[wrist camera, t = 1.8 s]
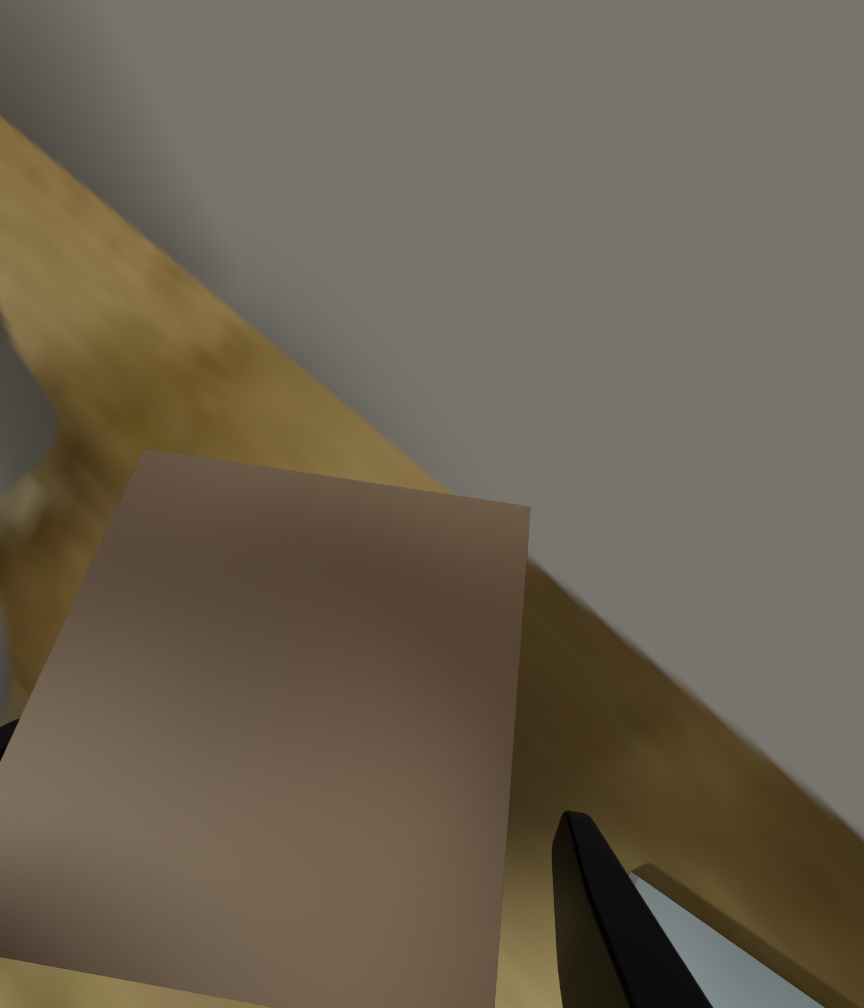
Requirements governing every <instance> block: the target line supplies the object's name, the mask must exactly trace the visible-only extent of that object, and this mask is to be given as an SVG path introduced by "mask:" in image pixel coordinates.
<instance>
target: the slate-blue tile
mask: <svg viewBox="0 0 864 1008" xmlns="http://www.w3.org/2000/svg"><path fill="white" fill-rule="evenodd" d="M629 877H630V879H631V880H632V882H633V884H634V885H635V887H636V888H637V890H638V891H639V893H640V894H641V896H642V898H643V899H644V901H645V902H646V904H647V905H648V907H649V908H650V910H651V912H652V913H653V915H654V916H655V918H656V919H657V921H658V922H659V924H660V926H661V927H662V929H663V930H664V932H665V933H666V935H667V936H668V938H669V940H670V941H671V943H672V944H673V946H674V947H675V949H676V950H677V952H678V954H679V955H680V957H681V958H682V960H683V961H684V963H685V964H686V966H687V968H688V969H689V971H690V972H691V974H692V975H693V977H694V978H695V980H696V982H697V983H698V985H699V986H700V988H701V989H702V991H703V992H704V994H705V996H706V997H707V999H708V1000H709V1002H710V1003H711V1005H712V1006H713V1008H824V1007H823V1006H821V1005H820V1004H819V1003H817V1002H816V1001H814V1000H813V999H811V998H810V997H809V996H807V995H806V994H804V993H803V992H802V991H800V990H799V989H797V988H796V987H794V986H793V985H792V984H790V983H789V982H787V981H786V980H784V979H783V978H782V977H780V976H779V975H777V974H776V973H775V972H773V971H772V970H770V969H769V968H767V967H766V966H765V965H763V964H762V963H760V962H759V961H757V960H756V959H755V958H753V957H752V956H750V955H749V954H748V953H746V952H745V951H743V950H742V949H740V948H739V947H738V946H736V945H735V944H733V943H732V942H730V941H729V940H728V939H726V938H725V937H723V936H722V935H721V934H719V933H718V932H716V931H715V930H713V929H712V928H711V927H709V926H708V925H706V924H705V923H703V922H702V921H701V920H699V919H698V918H696V917H695V916H694V915H692V914H691V913H689V912H688V911H686V910H685V909H684V908H682V907H681V906H679V905H678V904H676V903H675V902H674V901H672V900H671V899H669V898H668V897H667V896H665V895H664V894H662V893H661V892H659V891H658V890H657V889H655V888H654V887H652V886H651V885H650V884H648V883H647V882H645V881H644V880H642V879H641V878H640V877H638V876H637V875H635V874H634V873H632V872H630V874H629Z"/></svg>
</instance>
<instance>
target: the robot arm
mask: <svg viewBox="0 0 864 1008" xmlns="http://www.w3.org/2000/svg"><path fill="white" fill-rule="evenodd" d="M19 720H20V719H16V720H14V721H11V722H9V723H7V724H5V725H3V726H1V727H0V761H1V759H2V757H3V755H4V753H5V750H6V748H7V746H8V744H9V742H10V740H11V737H12V735H13V733H14V731H15V729H16V726H17V724H18V722H19ZM552 874H553V893H554V911H555V930H556V948H557V963H558V974H559V983H560V991H561V998H562V1005H563V1008H713V1006H712V1005H711V1003H710V1002H709V1000H708V999H707V997H706V996H705V994H704V992H703V991H702V989H701V988H700V986H699V985H698V983H697V982H696V980H695V978H694V977H693V975H692V974H691V972H690V971H689V969H688V968H687V966H686V964H685V963H684V961H683V960H682V958H681V957H680V955H679V954H678V952H677V950H676V949H675V947H674V946H673V944H672V943H671V941H670V940H669V938H668V936H667V935H666V933H665V932H664V930H663V929H662V927H661V926H660V924H659V922H658V921H657V919H656V918H655V916H654V915H653V913H652V912H651V910H650V908H649V907H648V905H647V904H646V902H645V901H644V899H643V898H642V896H641V894H640V893H639V891H638V890H637V888H636V887H635V885H634V884H633V882H632V880H631V879H630V877H629V876H628V874H627V873H626V871H625V870H624V868H623V866H622V865H621V863H620V862H619V860H618V859H617V857H616V855H615V854H614V852H613V851H612V849H611V848H610V846H609V845H608V843H607V841H606V840H605V838H604V837H603V835H602V834H601V832H600V831H599V829H598V827H597V826H596V824H595V823H594V821H593V820H592V818H591V817H590V816H588V815H587V814H585V813H580V812H574V811H565V812H563V814H562V816H561V819H560V822H559V825H558V828H557V831H556V834H555V837H554V840H553V844H552Z"/></svg>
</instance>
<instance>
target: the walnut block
mask: <svg viewBox="0 0 864 1008" xmlns="http://www.w3.org/2000/svg"><path fill="white" fill-rule="evenodd" d="M530 509H531V507H529V506H522V505H515V504H508V503H502V502H496V501H489V500H482V499H475V498H469V497H462V496H456V495H449V494H443V493H436V492H429V491H423V490H416V489H409V488H403V487H396V486H389V485H383V484H376V483H369V482H363V481H356V480H350V479H343V478H336V477H330V476H323V475H316V474H310V473H303V472H296V471H290V470H283V469H276V468H270V467H263V466H257V465H250V464H243V463H237V462H230V461H223V460H217V459H210V458H203V457H197V456H190V455H184V454H177V453H170V452H164V451H157V450H150V449H144V450H143V452H142V454H141V457H140V459H139V461H138V463H137V465H136V468H135V470H134V472H133V474H132V476H131V478H130V481H129V483H128V485H127V487H126V489H125V491H124V494H123V496H122V498H121V500H120V502H119V505H118V507H117V509H116V511H115V513H114V515H113V518H112V520H111V522H110V524H109V526H108V528H107V531H106V533H105V535H104V537H103V539H102V542H101V544H100V546H99V548H98V550H97V552H96V555H95V557H94V559H93V561H92V563H91V565H90V568H89V570H88V572H87V574H86V576H85V579H84V581H83V583H82V585H81V587H80V589H79V592H78V594H77V596H76V598H75V600H74V602H73V605H72V607H71V609H70V611H69V613H68V616H67V618H66V620H65V622H64V624H63V626H62V629H61V631H60V633H59V635H58V637H57V639H56V642H55V644H54V646H53V648H52V650H51V653H50V655H49V657H48V659H47V661H46V663H45V666H44V668H43V670H42V672H41V674H40V676H39V679H38V681H37V683H36V685H35V687H34V689H33V692H32V694H31V696H30V698H29V700H28V703H27V705H26V707H25V709H24V711H23V713H22V716H21V718H20V720H19V722H18V724H17V726H16V729H15V731H14V733H13V735H12V737H11V740H10V742H9V744H8V746H7V748H6V750H5V753H4V755H3V757H2V759H1V761H0V957H3V958H9V959H14V960H20V961H25V962H31V963H36V964H41V965H47V966H52V967H58V968H63V969H69V970H74V971H80V972H85V973H90V974H96V975H101V976H107V977H112V978H118V979H123V980H128V981H134V982H139V983H145V984H150V985H156V986H161V987H166V988H172V989H177V990H183V991H188V992H194V993H199V994H205V995H210V996H215V997H221V998H226V999H232V1000H237V1001H243V1002H248V1003H253V1004H259V1005H264V1006H270V1007H275V1008H495V994H496V980H497V966H498V953H499V939H500V925H501V911H502V897H503V883H504V869H505V855H506V842H507V828H508V814H509V800H510V786H511V772H512V758H513V745H514V731H515V717H516V703H517V689H518V675H519V661H520V648H521V634H522V620H523V606H524V592H525V578H526V564H527V551H528V537H529V522H530Z"/></svg>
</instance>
